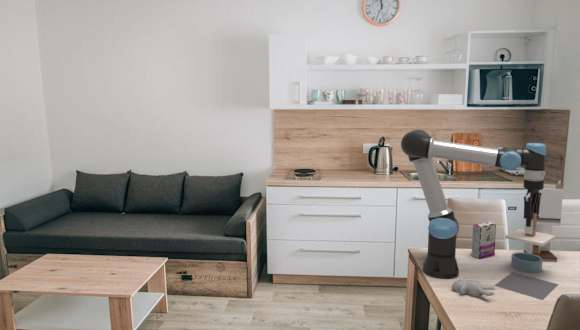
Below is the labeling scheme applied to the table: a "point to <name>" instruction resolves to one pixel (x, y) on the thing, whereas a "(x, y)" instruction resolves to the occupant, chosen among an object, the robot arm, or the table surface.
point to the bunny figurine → (471, 288)
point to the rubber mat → (527, 285)
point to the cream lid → (531, 235)
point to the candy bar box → (483, 240)
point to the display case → (547, 220)
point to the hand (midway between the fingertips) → (530, 232)
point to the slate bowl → (526, 262)
